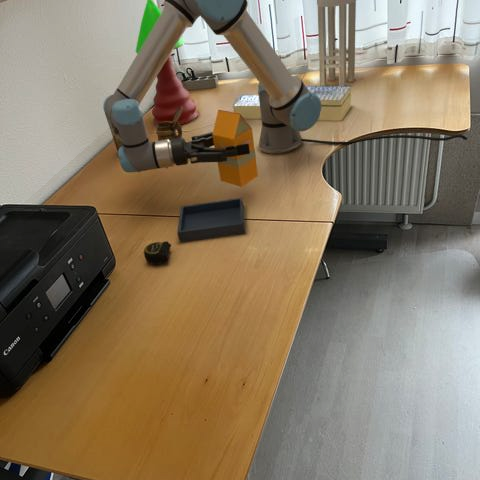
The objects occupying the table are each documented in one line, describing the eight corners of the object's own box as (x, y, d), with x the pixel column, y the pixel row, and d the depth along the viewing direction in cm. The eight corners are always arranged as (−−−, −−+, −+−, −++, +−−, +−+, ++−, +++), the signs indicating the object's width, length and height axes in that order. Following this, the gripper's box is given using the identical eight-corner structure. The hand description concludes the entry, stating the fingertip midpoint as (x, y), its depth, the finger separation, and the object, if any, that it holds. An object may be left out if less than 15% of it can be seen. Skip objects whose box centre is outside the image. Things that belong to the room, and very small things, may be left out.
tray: (243, 207, 145) (242, 197, 143) (245, 233, 134) (243, 223, 132) (183, 215, 147) (180, 206, 144) (179, 242, 136) (177, 232, 134)
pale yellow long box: (351, 106, 192) (351, 78, 185) (340, 121, 182) (340, 92, 175) (248, 105, 209) (245, 79, 202) (234, 118, 200) (230, 92, 193)
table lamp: (187, 127, 200) (159, 0, 170) (146, 127, 207) (112, 5, 176) (205, 109, 213) (183, -12, 183) (166, 109, 220) (138, -7, 189)
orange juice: (241, 187, 142) (230, 119, 128) (220, 180, 147) (207, 114, 133) (258, 176, 145) (250, 108, 132) (237, 170, 150) (227, 104, 137)
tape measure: (169, 265, 128) (165, 254, 126) (144, 267, 129) (140, 256, 127) (172, 250, 133) (169, 239, 131) (148, 253, 134) (145, 241, 132)
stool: (346, 91, 205) (347, -7, 181) (313, 89, 212) (310, -5, 189) (360, 78, 213) (363, -16, 190) (328, 77, 221) (327, -14, 197)
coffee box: (144, 151, 188) (131, 109, 177) (131, 158, 185) (118, 115, 174) (130, 147, 193) (117, 106, 182) (117, 153, 190) (103, 112, 179)
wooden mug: (186, 160, 176) (175, 110, 164) (155, 158, 181) (142, 109, 169) (197, 149, 182) (187, 100, 170) (166, 148, 187) (154, 100, 175)
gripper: (178, 149, 151) (248, 138, 149) (172, 182, 134) (251, 170, 132) (172, 125, 146) (245, 113, 144) (166, 156, 129) (248, 144, 127)
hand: (248, 141), depth 138 cm, fingers closed on orange juice, 10 cm apart
